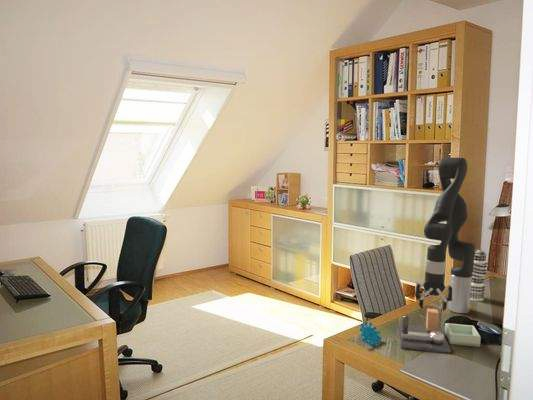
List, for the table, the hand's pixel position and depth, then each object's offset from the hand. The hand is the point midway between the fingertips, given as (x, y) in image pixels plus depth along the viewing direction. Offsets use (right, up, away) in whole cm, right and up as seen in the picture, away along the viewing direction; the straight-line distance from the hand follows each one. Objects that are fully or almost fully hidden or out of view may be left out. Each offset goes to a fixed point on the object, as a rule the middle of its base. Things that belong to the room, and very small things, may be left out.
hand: (432, 309), depth 182 cm
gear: (-28, -11, -9) cm, 31 cm away
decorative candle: (+39, -6, +44) cm, 59 cm away
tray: (+10, -11, -5) cm, 16 cm away
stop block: (0, -9, +1) cm, 9 cm away
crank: (-7, -10, -9) cm, 15 cm away
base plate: (-6, -11, -5) cm, 14 cm away
